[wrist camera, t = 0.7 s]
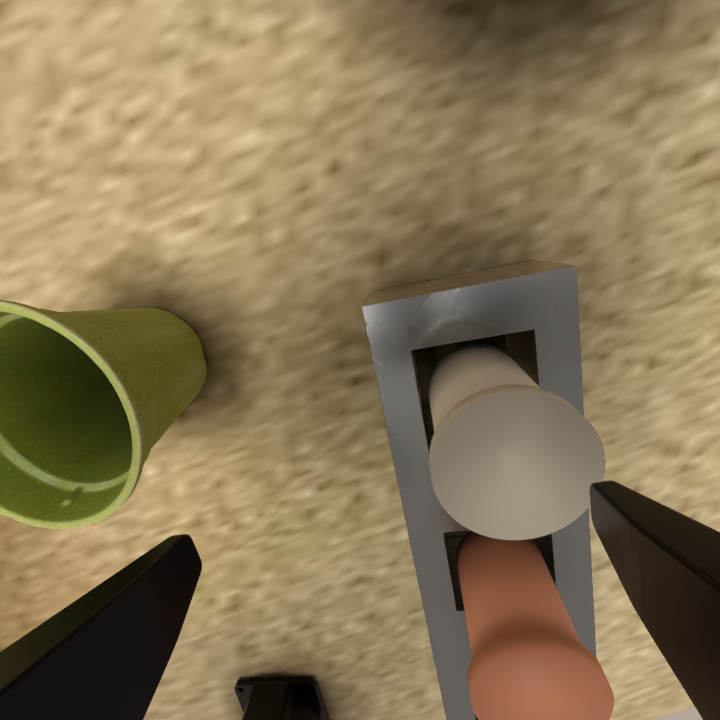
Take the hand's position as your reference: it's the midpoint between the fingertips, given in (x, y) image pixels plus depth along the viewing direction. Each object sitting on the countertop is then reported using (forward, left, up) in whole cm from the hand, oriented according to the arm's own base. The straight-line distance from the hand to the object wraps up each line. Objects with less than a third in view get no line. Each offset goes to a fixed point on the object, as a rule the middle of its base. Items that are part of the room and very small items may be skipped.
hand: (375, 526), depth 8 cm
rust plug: (-10, -4, -9) cm, 14 cm away
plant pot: (+2, +13, -13) cm, 19 cm away
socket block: (-10, -4, -13) cm, 17 cm away
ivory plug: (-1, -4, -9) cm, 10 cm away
